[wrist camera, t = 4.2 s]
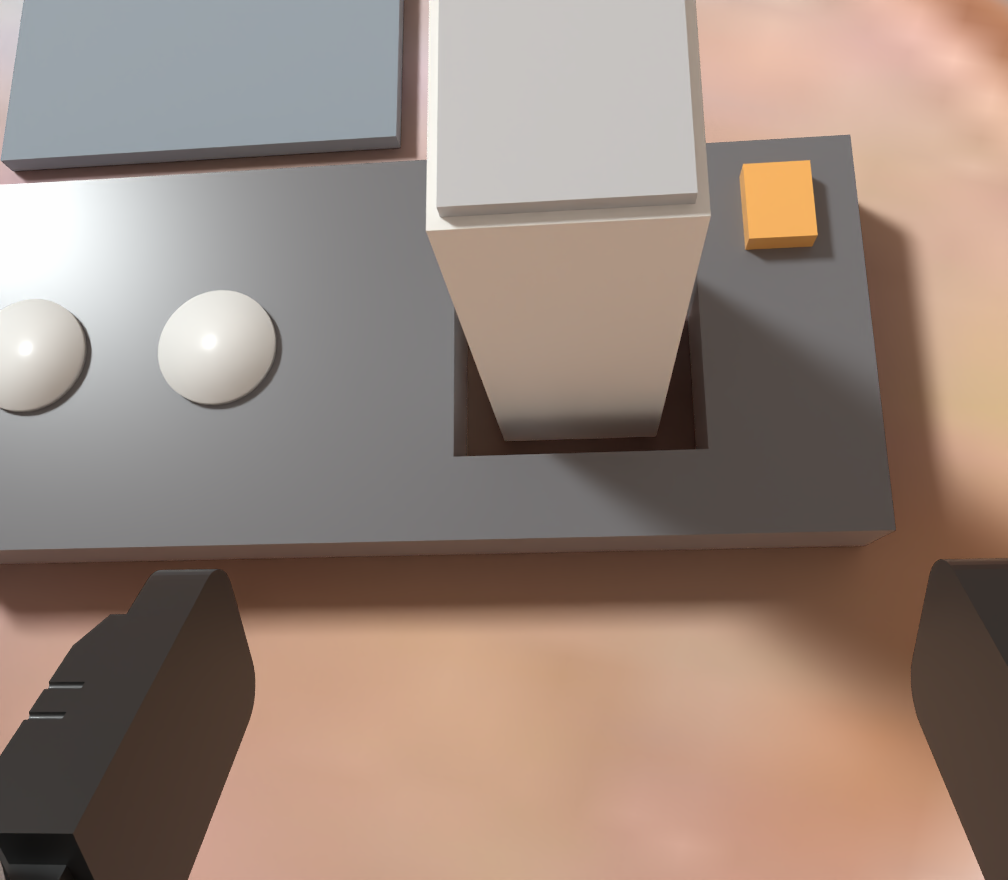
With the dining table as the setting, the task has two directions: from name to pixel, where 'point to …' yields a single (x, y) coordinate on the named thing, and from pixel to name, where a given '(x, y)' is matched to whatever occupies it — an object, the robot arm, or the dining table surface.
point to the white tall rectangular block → (568, 202)
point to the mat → (202, 80)
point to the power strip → (406, 376)
